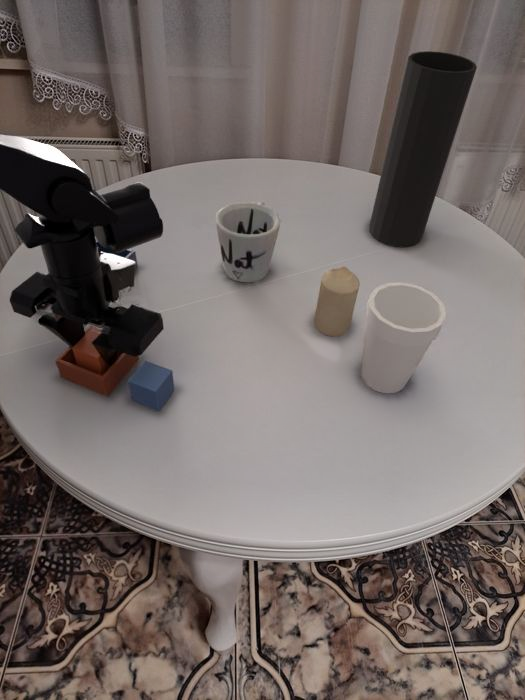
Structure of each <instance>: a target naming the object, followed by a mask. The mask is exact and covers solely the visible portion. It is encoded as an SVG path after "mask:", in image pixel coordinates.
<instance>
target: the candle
mask: <svg viewBox="0 0 525 700" xmlns="http://www.w3.org/2000/svg"><path fill="white" fill-rule="evenodd" d="M360 285H361V281H360V279H359V277H358V276H357V275H356V274H355V273H353V271H351V270H350V269H349V268H348V267H346V266H341V267H338V268H332V269H329V270H327V271H325V272H324V273H323V274H322V275H321V280H320V284H319V290H318V297H317V302H316V308H315V314H314V321H313V322H314V323H313V324H314V327H315V329H316V330H317V331H318V332H319V333H320V334H323V335H325V336H328V337H340V336H343V335H345V334H347V332H348V331H349V329H350V328H351V327H350V326H351V323H352V318H353V315H354V311H355V306H356V302H357V299H358V298H357V297H358V293H359V290H360Z"/></svg>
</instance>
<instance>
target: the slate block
mask: <svg viewBox="0 0 525 700" xmlns="http://www.w3.org/2000/svg"><path fill="white" fill-rule="evenodd" d="M128 386H129V392H130V397H131V401H132V402H133V403H136V404H138V405H141V406H144V407H146V408H149V409H150V410H153V411H156V412H160V410H161V409H162V408H163V407H164V405H165V404H166V403H167V402H168V400H169V399H170V397H171V396H172V395H173V393H174V392H175V382H174V373H173V370H172V369H170V368H167V367H164V366H162V365H159V364H157V363H153V362H151V361H148V360H144V361H143V363H142V364H141V365H140V367H138V369H137V370H136V371H135V372H134V374H133V375H132V376H131V377H130V378H129V379H128Z"/></svg>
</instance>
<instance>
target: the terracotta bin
mask: <svg viewBox="0 0 525 700" xmlns="http://www.w3.org/2000/svg"><path fill="white" fill-rule="evenodd" d="M91 329H92V330H94V331H97V332H100V333H101V331H102V330H103V329H102V328H98V327H95V326H93V325H90V326H88V327H87V328H86V329H85V334H87V333H88V332H89V331H90V330H91ZM119 355H120V357H119V358H118V359H117V360H116V361H115V363H114V364H113V365H112V366H111V367H110V368H109V369H108V370H107V371H106V373H105V374H104V375H103V376H101V375H99V374H96V373H94V372H91V371H88V370H86V369H83V368H81V367H78V366H77V363H76V359H75V356H74V353H73V349H72V348H71V347H70V346H69V345H68V347H67V348H66V349H65V350H64V351H63V352H62V353H61V354H60V355H59V356H58V357H57V358H56V359H55V360H54V362H55V365H56V368H57V371H58V373H59V377H60V378H61V379H63V380H64V381H67V382H70V383H73V384H75V385H78V386H80V387H83V388H84V389H88V390H90V391H92V392H95V393H97V394H100V395H103V396H105V397H107V398H108V397H109V396H110V395H111V393H113V391H114V390H115V389H116V387H118V385H119V384H120V383H121V381H123V379H124V378H125V377H126V376H127V375H128V374H129V373H130V371H131V370H132V369H133V368H134V367H135V366H136V365H137V364H138V362H139V360H140V356H135V357H134V356H131V355H128V354H126V353H123V352H120V351H119Z"/></svg>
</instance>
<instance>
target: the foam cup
mask: <svg viewBox="0 0 525 700" xmlns="http://www.w3.org/2000/svg"><path fill="white" fill-rule="evenodd" d="M364 314H365V329H364V337H363V348H362V349H363V350H362V360H361V361H362V362H361V379H362V380H363V382H364V383H365V385H366V386H367V387H369V388H370V389H372V390H373V391H375V392H379V393H383V394H395V393H398V392H399V391H401V390H403V389H404V388H405V386H406V385H407V383H408V381H409V380H410V379H411V377H412V375H413V373H414V372H415V371H416V368H418V366H419V364H420V362H421V361H422V360H423V357H424V356H425V354H426V352H427V351H428V350H429V348H430V346H431V344H432V343H433V342H434V341H436V340H437V337H438V335H439V333H440V332H441V330H442V328H443V324H444V322H445V320H446V317H447V312H446V308H445V304H444V303H443V301H441V299H439V297H437V295H436V294H435V293H433V292H431V291H430V290H428V289H426V288H424V287H422V286H420V285H416V284H412V283H408V282H403V281H402V282H387V283H385V284H381V285H379V286H377V287H375V288H374V289H373V291H372V292H371V294H370V295H369V296H368V299H367V303H366V307H365V313H364Z"/></svg>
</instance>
